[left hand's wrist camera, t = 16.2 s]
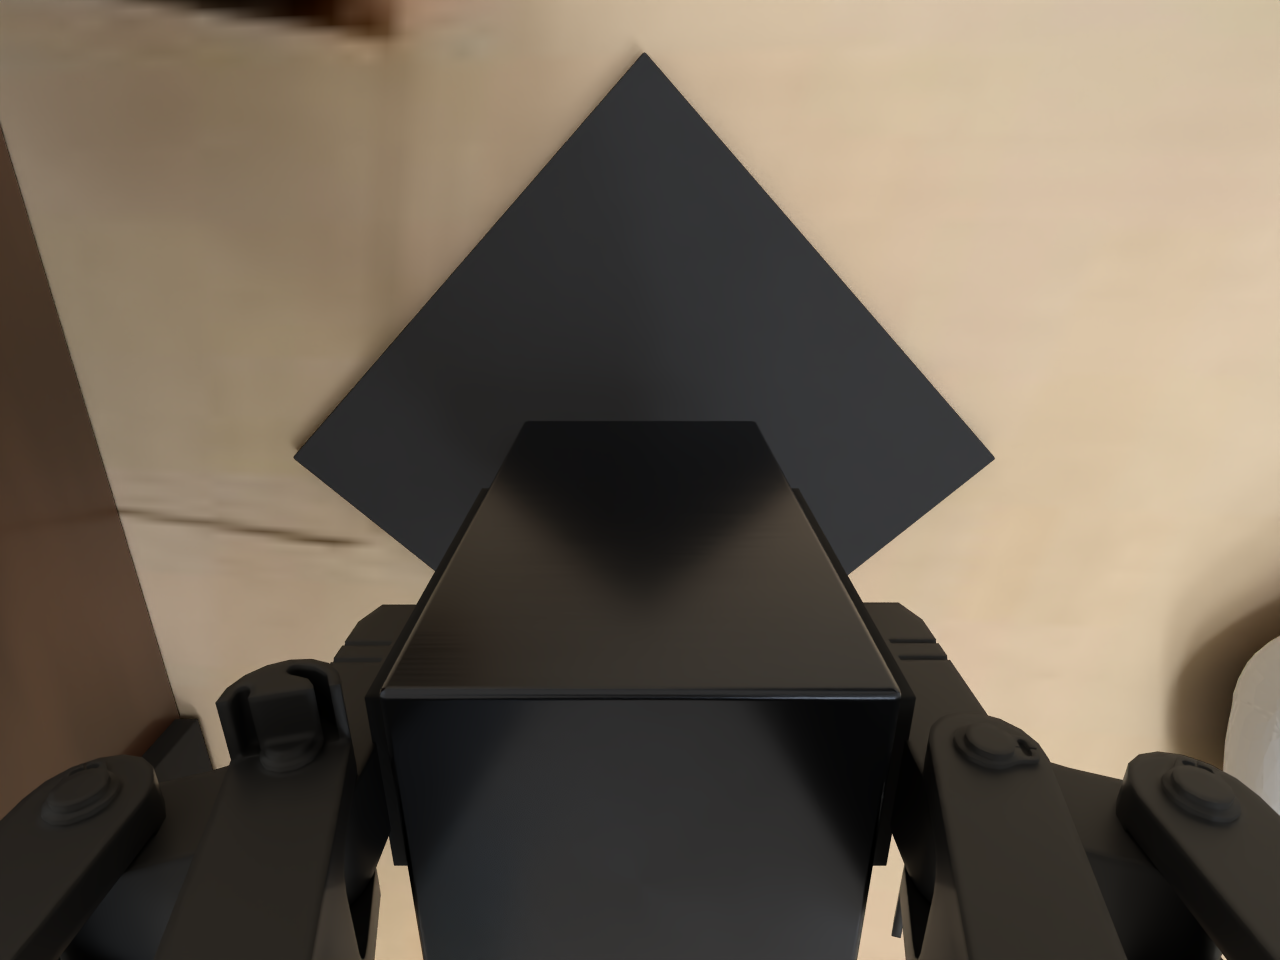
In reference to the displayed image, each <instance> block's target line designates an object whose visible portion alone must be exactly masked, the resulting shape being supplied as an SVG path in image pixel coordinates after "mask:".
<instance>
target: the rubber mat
mask: <svg viewBox="0 0 1280 960" xmlns="http://www.w3.org/2000/svg"><path fill="white" fill-rule="evenodd" d="M526 421H754V422H756V423H757V425H758V427H759V429H760V431H761V432H762V434H763V436H764V438H765V440H766V442H767V444H768V445H769V447H770V449H771V451H772V453H773V455H774V457H775V458H776V460H777V462H778V464H779V466H780V468H781V470H782V471H783V473H784V475H785V477H786V479H787V481H788V483H789V484H790V486H791V488H799V490H800V492H801V494H802V495H803V497H804V499H805V501H806V503H807V504H808V506H809V508H810V510H811V511H812V513H813V515H814V517H815V519H816V520H817V522H818V524H819V526H820V527H821V529H822V531H823V533H824V534H825V536H826V538H827V540H828V542H829V543H830V545H831V547H832V549H833V550H834V552H835V554H836V556H837V558H838V559H839V561H840V563H841V565H842V566H843V568H844V570H845V572H846V574H847V575H849V574H850V573H851V572H852V571H854V570H855V569H856V568H857V567H859V566H860V565H861V564H862V563H864V562H865V561H866V560H868V559H869V558H870V557H871V556H873V555H874V554H875V553H876V552H878V551H879V550H880V549H881V548H883V547H884V546H885V545H887V544H888V543H889V542H890V541H892V540H893V539H894V538H895V537H897V536H898V535H899V534H900V533H902V532H903V531H904V530H906V529H907V528H908V527H909V526H911V525H912V524H913V523H914V522H916V521H917V520H918V519H920V518H921V517H922V516H923V515H925V514H926V513H927V512H928V511H930V510H931V509H932V508H933V507H935V506H936V505H937V504H939V503H940V502H941V501H942V500H944V499H945V498H946V497H947V496H949V495H950V494H951V493H952V492H954V491H955V490H956V489H958V488H959V487H960V486H961V485H963V484H964V483H965V482H966V481H968V480H969V479H970V478H971V477H973V476H974V475H975V474H977V473H978V472H979V471H980V470H982V469H983V468H984V467H985V466H987V465H988V464H989V463H990V462H992V461H993V460H994V459H995V458H994V456H993V455H992V454H991V453H990V451H989V450H988V449H987V448H986V447H985V446H984V445H983V443H982V442H981V441H980V440H979V439H978V438H977V436H976V435H975V434H974V433H973V432H972V431H971V429H970V428H969V427H968V426H967V425H966V424H965V423H964V421H963V420H962V419H961V418H960V417H959V416H958V414H957V413H956V412H955V411H954V410H953V409H952V407H951V406H950V405H949V404H948V403H947V402H946V400H945V399H944V398H943V397H942V396H941V395H940V394H939V392H938V391H937V390H936V389H935V388H934V387H933V385H932V384H931V383H930V382H929V381H928V380H927V378H926V377H925V376H924V375H923V374H922V373H921V371H920V370H919V369H918V368H917V367H916V366H915V365H914V363H913V362H912V361H911V360H910V359H909V358H908V356H907V355H906V354H905V353H904V352H903V351H902V349H901V348H900V347H899V346H898V345H897V344H896V343H895V341H894V340H893V339H892V338H891V337H890V336H889V334H888V333H887V332H886V331H885V330H884V329H883V327H882V326H881V325H880V324H879V323H878V322H877V320H876V319H875V318H874V317H873V316H872V315H871V314H870V312H869V311H868V310H867V309H866V308H865V307H864V305H863V304H862V303H861V302H860V301H859V300H858V298H857V297H856V296H855V295H854V294H853V293H852V292H851V290H850V289H849V288H848V287H847V286H846V285H845V283H844V282H843V281H842V280H841V279H840V278H839V276H838V275H837V274H836V273H835V272H834V271H833V269H832V268H831V267H830V266H829V265H828V264H827V263H826V261H825V260H824V259H823V258H822V257H821V256H820V254H819V253H818V252H817V251H816V250H815V249H814V247H813V246H812V245H811V244H810V243H809V242H808V241H807V239H806V238H805V237H804V236H803V235H802V234H801V232H800V231H799V230H798V229H797V228H796V227H795V225H794V224H793V223H792V222H791V221H790V220H789V218H788V217H787V216H786V215H785V214H784V213H783V212H782V210H781V209H780V208H779V207H778V206H777V205H776V203H775V202H774V201H773V200H772V199H771V198H770V196H769V195H768V194H767V193H766V192H765V191H764V189H763V188H762V187H761V186H760V185H759V184H758V183H757V181H756V180H755V179H754V178H753V177H752V176H751V174H750V173H749V172H748V171H747V170H746V169H745V167H744V166H743V165H742V164H741V163H740V162H739V161H738V159H737V158H736V157H735V156H734V155H733V154H732V152H731V151H730V150H729V149H728V148H727V147H726V145H725V144H724V143H723V142H722V141H721V140H720V138H719V137H718V136H717V135H716V134H715V133H714V132H713V130H712V129H711V128H710V127H709V126H708V125H707V123H706V122H705V121H704V120H703V119H702V118H701V116H700V115H699V114H698V113H697V112H696V111H695V110H694V108H693V107H692V106H691V105H690V104H689V103H688V101H687V100H686V99H685V98H684V97H683V96H682V94H681V93H680V92H679V91H678V90H677V89H676V87H675V86H674V85H673V84H672V83H671V82H670V81H669V79H668V78H667V77H666V76H665V75H664V74H663V72H662V71H661V70H660V69H659V68H658V67H657V65H656V64H655V63H654V62H653V61H652V60H651V59H650V57H649V56H648V55H647V54H646V53H643V54H642V55H641V56H640V57H639V58H638V59H637V61H636V62H635V63H634V64H633V65H632V66H631V67H630V69H629V70H628V71H627V72H626V73H625V74H624V76H623V77H622V78H621V79H620V80H619V81H618V83H617V84H616V85H615V86H614V87H613V88H612V89H611V91H610V92H609V93H608V94H607V95H606V96H605V98H604V99H603V100H602V101H601V102H600V103H599V104H598V106H597V107H596V108H595V109H594V110H593V111H592V113H591V114H590V115H589V116H588V117H587V118H586V119H585V121H584V122H583V123H582V124H581V125H580V126H579V128H578V129H577V130H576V131H575V132H574V133H573V135H572V136H571V137H570V138H569V139H568V140H567V141H566V143H565V144H564V145H563V146H562V147H561V148H560V150H559V151H558V152H557V153H556V154H555V155H554V156H553V158H552V159H551V160H550V161H549V162H548V163H547V165H546V166H545V167H544V168H543V169H542V170H541V171H540V173H539V174H538V175H537V176H536V177H535V178H534V180H533V181H532V182H531V183H530V184H529V185H528V186H527V188H526V189H525V190H524V191H523V192H522V193H521V195H520V196H519V197H518V198H517V199H516V200H515V202H514V203H513V204H512V205H511V206H510V207H509V208H508V210H507V211H506V212H505V213H504V214H503V215H502V217H501V218H500V219H499V220H498V221H497V222H496V223H495V225H494V226H493V227H492V228H491V229H490V230H489V232H488V233H487V234H486V235H485V236H484V237H483V238H482V240H481V241H480V242H479V243H478V244H477V245H476V247H475V248H474V249H473V250H472V251H471V252H470V254H469V255H468V256H467V257H466V258H465V259H464V260H463V262H462V263H461V264H460V265H459V266H458V267H457V269H456V270H455V271H454V272H453V273H452V274H451V275H450V277H449V278H448V279H447V280H446V281H445V282H444V284H443V285H442V286H441V287H440V288H439V289H438V290H437V292H436V293H435V294H434V295H433V296H432V297H431V299H430V300H429V301H428V302H427V303H426V304H425V306H424V307H423V308H422V309H421V310H420V311H419V312H418V314H417V315H416V316H415V317H414V318H413V319H412V321H411V322H410V323H409V324H408V325H407V326H406V327H405V329H404V330H403V331H402V332H401V333H400V334H399V336H398V337H397V338H396V339H395V340H394V341H393V342H392V344H391V345H390V346H389V347H388V348H387V349H386V351H385V352H384V353H383V354H382V355H381V356H380V357H379V359H378V360H377V361H376V362H375V363H374V364H373V366H372V367H371V368H370V369H369V370H368V371H367V373H366V374H365V375H364V376H363V377H362V378H361V379H360V381H359V382H358V383H357V384H356V385H355V386H354V388H353V389H352V390H351V391H350V392H349V393H348V394H347V396H346V397H345V398H344V399H343V400H342V401H341V403H340V404H339V405H338V406H337V407H336V408H335V409H334V411H333V412H332V413H331V414H330V415H329V416H328V418H327V419H326V420H325V421H324V422H323V423H322V425H321V426H320V427H319V428H318V429H317V430H316V431H315V433H314V434H313V435H312V436H311V437H310V438H309V440H308V441H307V442H306V443H305V444H304V445H303V446H302V448H301V449H300V450H299V451H298V452H297V453H296V455H295V456H294V459H295V460H296V461H298V462H299V463H300V464H301V465H303V466H304V467H305V468H306V469H308V470H309V471H310V472H312V473H313V474H314V475H315V476H317V477H318V478H319V479H320V480H322V481H323V482H324V483H325V484H327V485H328V486H329V487H330V488H332V489H333V490H334V491H335V492H337V493H338V494H339V495H340V496H342V497H343V498H344V499H345V500H347V501H348V502H349V503H350V504H352V505H353V506H354V507H355V508H357V509H358V510H359V511H360V512H362V513H363V514H364V515H365V516H367V517H368V518H369V519H370V520H372V521H373V522H374V523H376V524H377V525H378V526H379V527H381V528H382V529H383V530H384V531H386V532H387V533H388V534H389V535H391V536H392V537H393V538H394V539H396V540H397V541H398V542H399V543H401V544H402V545H403V546H404V547H406V548H407V549H408V550H409V551H411V552H412V553H413V554H414V555H416V556H417V557H418V558H419V559H421V560H422V561H423V562H424V563H426V564H427V565H428V566H429V567H431V568H432V569H433V570H435V571H436V569H437V567H438V566H439V564H440V562H441V560H442V558H443V557H444V555H445V553H446V551H447V550H448V548H449V546H450V544H451V542H452V541H453V539H454V537H455V535H456V534H457V532H458V530H459V528H460V526H461V525H462V523H463V521H464V519H465V518H466V516H467V514H468V512H469V510H470V509H471V507H472V505H473V503H474V502H475V500H476V498H477V496H478V494H479V493H480V491H481V489H482V488H489V487H490V485H491V483H492V482H493V480H494V478H495V476H496V474H497V472H498V470H499V469H500V467H501V465H502V463H503V461H504V459H505V457H506V456H507V454H508V452H509V450H510V448H511V446H512V444H513V443H514V441H515V439H516V437H517V435H518V433H519V431H520V430H521V428H522V426H523V424H524V422H526Z"/></svg>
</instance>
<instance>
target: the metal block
mask: <svg viewBox="0 0 1280 960" xmlns="http://www.w3.org/2000/svg"><path fill="white" fill-rule="evenodd" d="M379 697H380V704H381V710H382V716H383V722H384V728H385V734H386V740H387V745H388V751H389V757H390V763H391V769H392V775H393V781H394V787H395V793H396V799H397V805H398V811H399V817H400V823H401V829H402V835H403V841H404V847H405V853H406V859H407V865H408V871H409V877H410V883H411V888H412V894H413V900H414V906H415V912H416V918H417V924H418V930H419V936H420V942H421V948H422V954H423V960H857V956H858V950H859V944H860V938H861V932H862V927H863V921H864V915H865V909H866V903H867V897H868V891H869V885H870V879H871V873H872V867H873V862H874V856H875V850H876V844H877V838H878V832H879V826H880V820H881V814H882V808H883V802H884V796H885V791H886V785H887V779H888V773H889V767H890V761H891V755H892V749H893V743H894V737H895V731H896V726H897V720H898V714H899V708H900V702H901V692H900V689H899V687H898V685H897V683H896V681H895V679H894V678H893V676H892V674H891V672H890V670H889V668H888V666H887V665H886V663H885V661H884V659H883V657H882V655H881V653H880V652H879V650H878V648H877V646H876V644H875V642H874V640H873V639H872V637H871V635H870V633H869V631H868V629H867V627H866V626H865V624H864V622H863V620H862V618H861V616H860V614H859V613H858V611H857V609H856V607H855V605H854V603H853V601H852V600H851V598H850V596H849V594H848V592H847V590H846V588H845V587H844V585H843V583H842V581H841V579H840V577H839V575H838V574H837V572H836V570H835V568H834V566H833V564H832V562H831V561H830V559H829V557H828V555H827V553H826V551H825V549H824V548H823V546H822V544H821V542H820V540H819V538H818V536H817V535H816V533H815V531H814V529H813V527H812V525H811V523H810V522H809V520H808V518H807V516H806V514H805V512H804V510H803V509H802V507H801V505H800V503H799V501H798V499H797V497H796V496H795V494H794V492H793V490H792V488H791V486H790V484H789V483H788V481H787V479H786V477H785V475H784V473H783V471H782V470H781V468H780V466H779V464H778V462H777V460H776V458H775V457H774V455H773V453H772V451H771V449H770V447H769V445H768V444H767V442H766V440H765V438H764V436H763V434H762V432H761V431H760V429H759V427H758V425H757V423H756V422H754V421H526V422H524V424H523V426H522V428H521V430H520V431H519V433H518V435H517V437H516V439H515V441H514V443H513V444H512V446H511V448H510V450H509V452H508V454H507V456H506V457H505V459H504V461H503V463H502V465H501V467H500V469H499V470H498V472H497V474H496V476H495V478H494V480H493V482H492V483H491V485H490V487H489V489H488V491H487V493H486V495H485V496H484V498H483V500H482V502H481V504H480V506H479V508H478V510H477V511H476V513H475V515H474V517H473V519H472V521H471V523H470V524H469V526H468V528H467V530H466V532H465V534H464V536H463V537H462V539H461V541H460V543H459V545H458V547H457V549H456V550H455V552H454V554H453V556H452V558H451V560H450V562H449V563H448V565H447V567H446V569H445V571H444V573H443V575H442V576H441V578H440V580H439V582H438V584H437V586H436V588H435V589H434V591H433V593H432V595H431V597H430V599H429V601H428V602H427V604H426V606H425V608H424V610H423V612H422V614H421V615H420V617H419V619H418V621H417V623H416V625H415V627H414V628H413V630H412V632H411V634H410V636H409V638H408V640H407V641H406V643H405V645H404V647H403V649H402V651H401V653H400V654H399V656H398V658H397V660H396V662H395V664H394V666H393V667H392V669H391V671H390V673H389V675H388V677H387V679H386V680H385V682H384V684H383V686H382V688H381V691H380V693H379Z"/></svg>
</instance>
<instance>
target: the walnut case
mask: <svg viewBox="0 0 1280 960" xmlns="http://www.w3.org/2000/svg"><path fill="white" fill-rule="evenodd" d="M175 719H180V717H179V714H178V710H177V707H176V704H175V700H174V697H173V694H172V691H171V687H170V684H169V681H168V677H167V674H166V671H165V667H164V664H163V661H162V658H161V654H160V651H159V648H158V644H157V641H156V638H155V635H154V631H153V628H152V625H151V621H150V618H149V615H148V611H147V608H146V605H145V602H144V598H143V595H142V592H141V588H140V585H139V582H138V579H137V575H136V572H135V569H134V565H133V562H132V559H131V555H130V552H129V549H128V546H127V542H126V539H125V536H124V532H123V529H122V526H121V523H120V519H119V516H118V513H117V509H116V506H115V503H114V499H113V496H112V493H111V490H110V486H109V483H108V480H107V476H106V473H105V470H104V467H103V463H102V460H101V457H100V453H99V450H98V447H97V443H96V440H95V437H94V434H93V430H92V427H91V424H90V420H89V417H88V414H87V411H86V407H85V404H84V401H83V397H82V394H81V391H80V387H79V384H78V381H77V378H76V374H75V371H74V368H73V364H72V361H71V358H70V354H69V351H68V348H67V345H66V341H65V338H64V335H63V331H62V328H61V325H60V322H59V318H58V315H57V312H56V308H55V305H54V302H53V298H52V295H51V292H50V289H49V285H48V282H47V279H46V275H45V272H44V269H43V266H42V262H41V259H40V256H39V252H38V249H37V246H36V242H35V239H34V236H33V233H32V229H31V226H30V223H29V219H28V216H27V213H26V210H25V206H24V203H23V200H22V196H21V193H20V190H19V186H18V183H17V180H16V177H15V173H14V170H13V167H12V163H11V160H10V157H9V154H8V150H7V147H6V144H5V140H4V137H3V134H2V130H1V127H0V820H1V819H2V818H4V817H5V816H6V815H7V814H8V813H9V812H10V811H11V810H12V809H13V808H14V807H15V806H16V805H17V804H18V803H19V802H20V801H21V800H22V799H23V798H24V797H26V796H27V795H28V794H30V793H31V792H32V791H33V790H35V789H36V788H37V787H38V786H40V785H41V784H42V783H44V782H45V781H47V780H49V779H50V778H52V777H54V776H56V775H58V774H60V773H62V772H64V771H65V770H67V769H69V768H71V767H73V766H76V765H79V764H82V763H85V762H88V761H91V760H94V759H97V758H101V757H108V756H116V755H123V754H125V755H131V756H137V757H142V755H143V754H144V753H145V752H146V751H147V750H148V749H149V748H150V747H151V745H152V744H153V743H154V742H155V741H156V740H157V739H158V738H159V737H160V736H161V734H162V733H163V732H164V731H165V730H166V729H167V728H168V727H169V726H170V724H171V723H172V722H173V721H174V720H175Z"/></svg>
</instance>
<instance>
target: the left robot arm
mask: <svg viewBox="0 0 1280 960" xmlns="http://www.w3.org/2000/svg"><path fill="white" fill-rule="evenodd" d="M488 489H489V488H482V489H481V491H480V493H479V494H478V496H477V498H476V500H475V502H474V503H473V505H472V507H471V509H470V510H469V512H468V514H467V516H466V518H465V519H464V521H463V523H462V525H461V526H460V528H459V530H458V532H457V534H456V535H455V537H454V539H453V541H452V542H451V544H450V546H449V548H448V550H447V551H446V553H445V555H444V557H443V558H442V560H441V562H440V564H439V566H438V567H437V569H436V571H435V573H434V574H433V576H432V578H431V580H430V582H429V583H428V585H427V587H426V589H425V590H424V592H423V594H422V596H421V598H420V599H419V601H418V603H417V605H381V606H380V607H379V608H377V609H376V610H374V611H373V612H372V613H370V614H369V615H367V616H366V617H365V618H363V619H362V620H360V621H359V622H358V623H357V625H356V626H355V628H354V629H353V631H352V632H351V634H350V635H349V637H348V638H347V640H346V641H345V646H342V647H341V648H340V650H339V651H338V653H337V654H336V656H335V657H334V662H331V663H330V664H329V663H326V662H322V661H318V660H314V659H297V660H287V661H283V662H279V663H275V664H271V665H267V666H265V667H262V668H260V669H258V670H256V671H253V672H251V673H249V674H247V675H245V676H243V677H242V678H240V679H239V680H238V681H236V682H235V683H233V684H232V685H231V686H229V687H228V688H227V689H226V690H225V691H224V692H223V694H222V695H221V696H220V698H219V699H218V700H217V702H216V707H217V710H218V714H219V718H220V721H221V725H222V729H223V732H224V736H225V739H226V743H227V747H228V750H229V754H230V758H231V762H230V764H229V766H226V767H222V768H219V769H216V770H212V771H208V772H204V773H199V774H195V775H191V776H186V777H182V778H177V779H173V780H169V781H164V782H160V783H158V780H157V777H156V774H155V771H154V768H153V766H152V765H151V764H150V763H149V762H148V761H146V760H145V759H144V758H143V757H137V756H131V755H125V754H123V755H116V756H108V757H101V758H97V759H94V760H91V761H88V762H85V763H82V764H79V765H76V766H73V767H71V768H69V769H67V770H65V771H64V772H62V773H60V774H58V775H56V776H54V777H52V778H50V779H49V780H47V781H45V782H44V783H42V784H41V785H40V786H38V787H37V788H36V789H35V790H33V791H32V792H31V793H30V794H28V795H27V796H26V797H24V798H23V799H22V800H21V801H20V802H19V803H18V804H17V805H16V806H15V807H14V808H13V809H12V810H11V811H10V812H9V813H8V814H7V815H6V816H5V817H4V818H2V819H1V820H0V960H58V958H59V957H60V958H61V960H374V958H375V947H376V937H377V927H378V916H379V906H380V895H381V894H380V887H379V880H378V875H377V869H376V866H377V864H378V861H379V859H380V856H381V854H382V851H383V849H384V846H385V844H386V841H387V839H388V836H389V839H390V845H391V851H392V856H393V862H394V866H408V865H407V859H406V853H405V847H404V841H403V835H402V829H401V823H400V817H399V811H398V805H397V799H396V793H395V787H394V781H393V775H392V769H391V763H390V757H389V751H388V745H387V740H386V734H385V728H384V722H383V716H382V710H381V704H380V697H379V693H380V691H381V688H382V686H383V684H384V682H385V680H386V679H387V677H388V675H389V673H390V671H391V669H392V667H393V666H394V664H395V662H396V660H397V658H398V656H399V654H400V653H401V651H402V649H403V647H404V645H405V643H406V641H407V640H408V638H409V636H410V634H411V632H412V630H413V628H414V627H415V625H416V623H417V621H418V619H419V617H420V615H421V614H422V612H423V610H424V608H425V606H426V604H427V602H428V601H429V599H430V597H431V595H432V593H433V591H434V589H435V588H436V586H437V584H438V582H439V580H440V578H441V576H442V575H443V573H444V571H445V569H446V567H447V565H448V563H449V562H450V560H451V558H452V556H453V554H454V552H455V550H456V549H457V547H458V545H459V543H460V541H461V539H462V537H463V536H464V534H465V532H466V530H467V528H468V526H469V524H470V523H471V521H472V519H473V517H474V515H475V513H476V511H477V510H478V508H479V506H480V504H481V502H482V500H483V498H484V496H485V495H486V493H487V491H488ZM792 490H793V492H794V494H795V496H796V497H797V499H798V501H799V503H800V505H801V507H802V509H803V510H804V512H805V514H806V516H807V518H808V520H809V522H810V523H811V525H812V527H813V529H814V531H815V533H816V535H817V536H818V538H819V540H820V542H821V544H822V546H823V548H824V549H825V551H826V553H827V555H828V557H829V559H830V561H831V562H832V564H833V566H834V568H835V570H836V572H837V574H838V575H839V577H840V579H841V581H842V583H843V585H844V587H845V588H846V590H847V592H848V594H849V596H850V598H851V600H852V601H853V603H854V605H855V607H856V609H857V611H858V613H859V614H860V616H861V618H862V620H863V622H864V624H865V626H866V627H867V629H868V631H869V633H870V635H871V637H872V639H873V640H874V642H875V644H876V646H877V648H878V650H879V652H880V653H881V655H882V657H883V659H884V661H885V663H886V665H887V666H888V668H889V670H890V672H891V674H892V676H893V678H894V679H895V681H896V683H897V685H898V687H899V689H900V692H901V702H900V708H899V714H898V720H897V726H896V731H895V737H894V743H893V749H892V755H891V761H890V767H889V773H888V779H887V785H886V791H885V796H884V802H883V808H882V814H881V820H880V826H879V832H878V838H877V844H876V850H875V856H874V862H873V866H886V864H887V859H888V853H889V848H890V842H891V836H892V834H893V837H894V839H895V842H896V844H897V847H898V849H899V852H900V854H901V857H902V859H903V862H904V869H903V875H902V880H901V885H900V890H899V896H898V901H897V906H896V911H895V917H894V922H893V929H892V936H894V937H898V938H901V934H902V928H903V935H904V946H905V956H906V960H1223V959H1222V958H1221V955H1222V954H1223V955H1224V956H1225V958H1226V959H1227V960H1280V815H1279V814H1277V813H1276V812H1275V811H1274V810H1273V809H1272V808H1271V807H1270V806H1269V805H1268V804H1267V803H1266V802H1265V801H1264V800H1263V799H1262V798H1261V797H1260V796H1259V795H1257V794H1256V793H1255V792H1254V791H1252V790H1251V789H1250V788H1248V787H1247V786H1246V785H1245V784H1243V783H1242V782H1241V781H1239V780H1238V779H1237V778H1235V777H1233V776H1231V775H1229V774H1227V773H1226V772H1224V771H1222V770H1220V769H1218V768H1216V767H1214V766H1212V765H1210V764H1208V763H1205V762H1202V761H1200V760H1196V759H1193V758H1190V757H1187V756H1184V755H1179V754H1172V753H1165V752H1152V753H1145V754H1139V755H1138V756H1137V757H1135V758H1134V759H1133V760H1132V761H1131V762H1129V763H1128V766H1127V769H1126V772H1125V775H1124V779H1123V780H1120V779H1116V778H1111V777H1107V776H1102V775H1098V774H1094V773H1089V772H1085V771H1080V770H1076V769H1072V768H1068V767H1064V766H1061V765H1058V764H1054V763H1051V762H1050V761H1049V759H1048V757H1047V756H1046V754H1045V753H1044V751H1043V750H1042V748H1041V747H1040V745H1039V744H1038V743H1037V742H1036V741H1035V740H1034V739H1032V738H1031V737H1030V736H1029V735H1027V734H1026V733H1025V732H1024V731H1022V730H1021V729H1019V728H1017V727H1015V726H1013V725H1011V724H1009V723H1007V722H1005V721H1003V720H1001V719H999V718H995V717H991V716H988V715H987V713H986V712H985V711H984V709H983V708H982V706H981V705H980V703H979V702H978V700H977V699H976V697H975V696H974V694H973V693H972V692H971V690H970V689H969V687H968V686H967V684H966V683H965V681H964V680H963V678H962V677H961V675H960V674H959V673H958V671H957V670H956V668H955V667H954V665H953V664H952V662H951V661H950V660H947V655H946V654H945V652H944V651H943V649H942V648H941V646H940V645H939V643H936V639H935V637H934V636H933V634H932V633H931V632H930V630H929V629H928V627H927V626H926V624H925V623H924V621H923V620H922V619H921V618H919V617H918V616H917V615H915V614H914V613H912V612H911V611H909V610H908V609H907V608H905V607H904V606H902V605H901V604H900V603H863V602H862V600H861V598H860V597H859V595H858V593H857V591H856V590H855V588H854V586H853V584H852V582H851V581H850V579H849V577H848V575H847V574H846V572H845V570H844V568H843V566H842V565H841V563H840V561H839V559H838V558H837V556H836V554H835V552H834V550H833V549H832V547H831V545H830V543H829V542H828V540H827V538H826V536H825V534H824V533H823V531H822V529H821V527H820V526H819V524H818V522H817V520H816V519H815V517H814V515H813V513H812V511H811V510H810V508H809V506H808V504H807V503H806V501H805V499H804V497H803V495H802V494H801V492H800V490H799V488H792Z"/></svg>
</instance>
